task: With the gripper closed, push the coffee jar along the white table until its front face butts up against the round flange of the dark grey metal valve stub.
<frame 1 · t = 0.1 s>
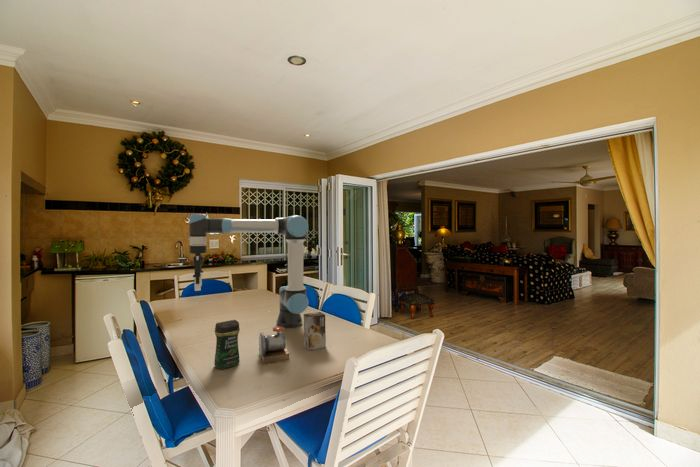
hand: (198, 288, 157), 28 cm above the table, tool pointing down, fingers open, 13 cm apart
coffee box: (314, 347, 154), on the table
valve stub: (272, 357, 142), on the table
coffee jar: (227, 365, 134), on the table
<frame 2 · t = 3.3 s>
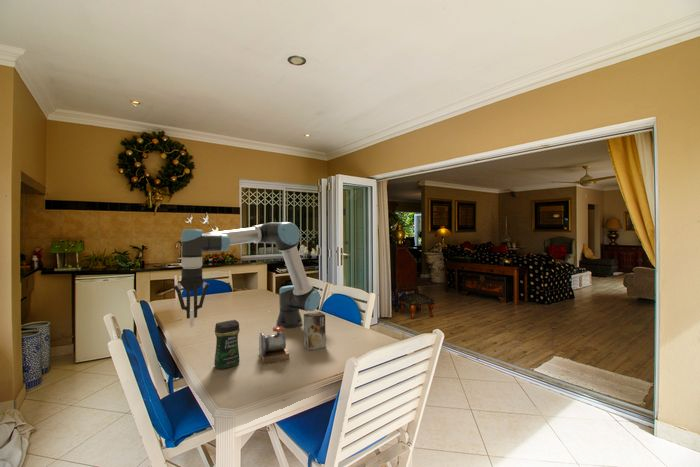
hand: (191, 326, 127), 18 cm above the table, tool pointing down, fingers closed
nothing on the table moved.
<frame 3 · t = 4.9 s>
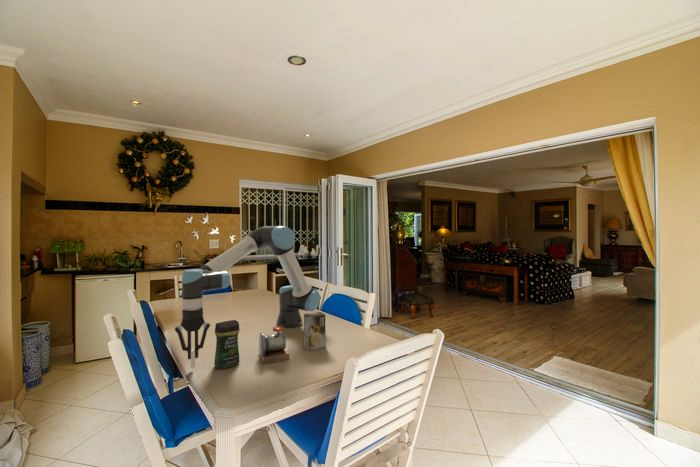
hand: (193, 366, 128), 2 cm above the table, tool pointing down, fingers closed
nothing on the table moved.
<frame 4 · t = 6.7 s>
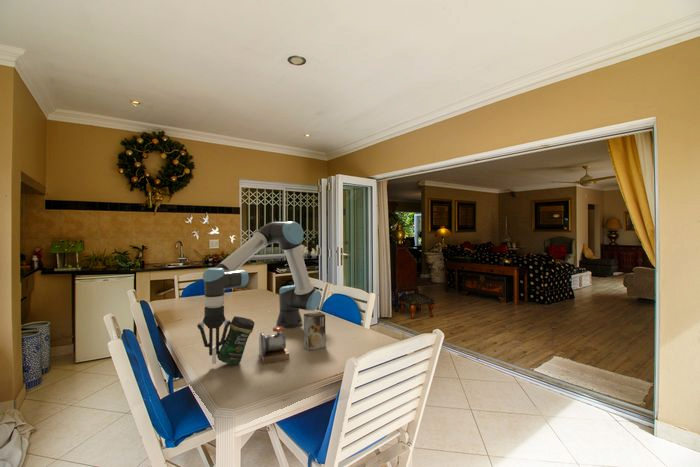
hand: (214, 362, 131), 2 cm above the table, tool pointing down, fingers closed
coffee jar: (228, 361, 134), point 2 cm above the table, touching gripper
everything else where it was.
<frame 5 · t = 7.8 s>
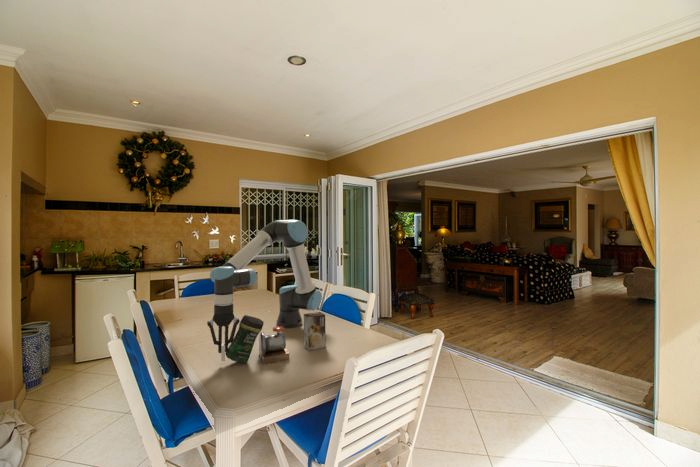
hand: (222, 360, 133), 3 cm above the table, tool pointing down, fingers closed
coffee jar: (236, 359, 135), point 2 cm above the table, touching gripper
everything else where it was.
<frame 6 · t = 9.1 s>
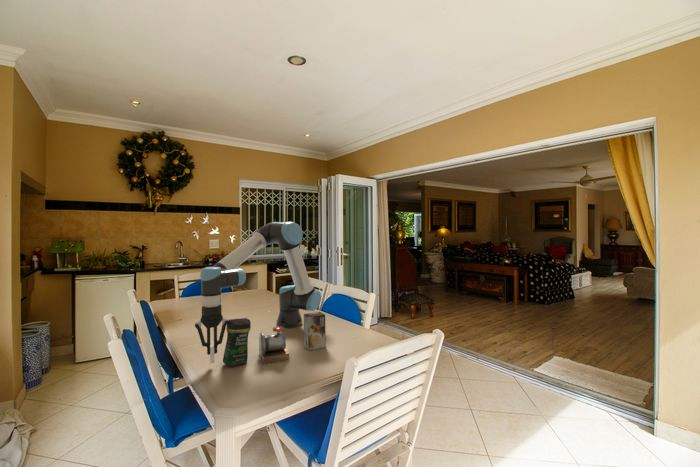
hand: (212, 361, 131), 2 cm above the table, tool pointing down, fingers closed
coffee jar: (235, 363, 135), on the table
everything else where it was.
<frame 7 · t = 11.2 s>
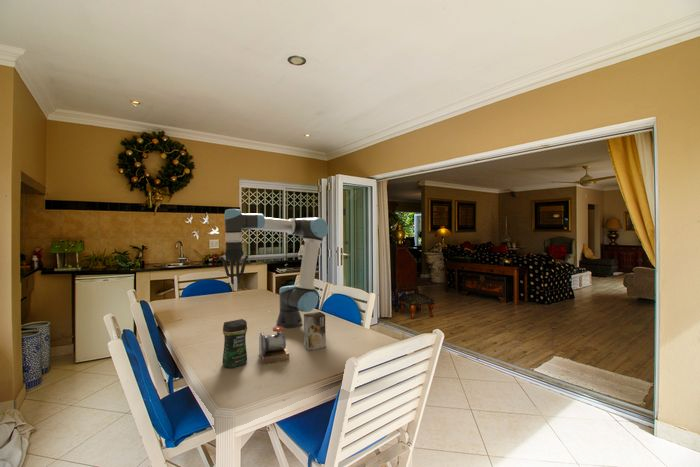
hand: (235, 290, 152), 28 cm above the table, tool pointing down, fingers closed
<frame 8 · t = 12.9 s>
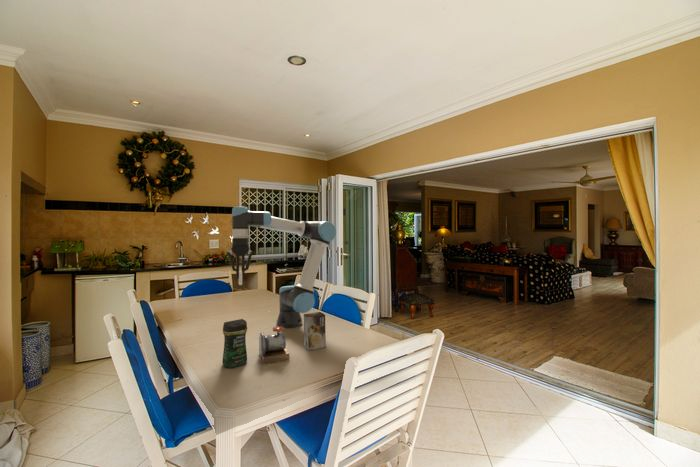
hand: (240, 284, 159), 29 cm above the table, tool pointing down, fingers closed
at the end: coffee jar 1.7 cm from the target spot on the table beside the valve stub, on the table; coffee jar tilted 0°; coffee jar moved 3.1 cm from its start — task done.
